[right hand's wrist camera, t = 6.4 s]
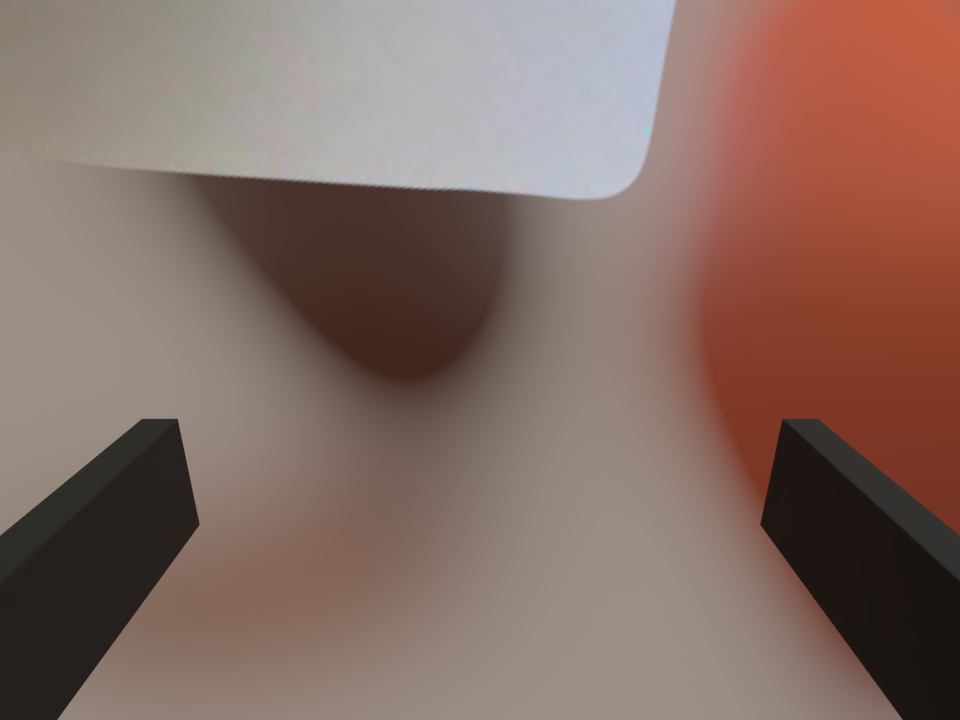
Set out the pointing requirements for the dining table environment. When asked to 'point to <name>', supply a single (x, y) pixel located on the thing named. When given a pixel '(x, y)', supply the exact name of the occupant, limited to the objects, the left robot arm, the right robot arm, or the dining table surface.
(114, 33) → the dining table surface
